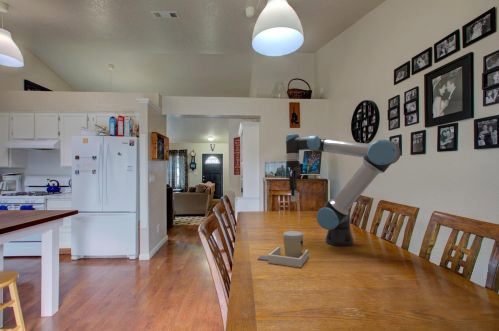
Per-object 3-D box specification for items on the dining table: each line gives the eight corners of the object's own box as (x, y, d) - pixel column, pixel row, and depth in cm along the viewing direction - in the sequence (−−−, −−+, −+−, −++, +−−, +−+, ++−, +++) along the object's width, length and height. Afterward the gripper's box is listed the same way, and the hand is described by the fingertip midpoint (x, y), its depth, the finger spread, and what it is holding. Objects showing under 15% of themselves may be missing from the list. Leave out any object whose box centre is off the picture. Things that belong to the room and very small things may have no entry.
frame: (308, 257, 131) (308, 249, 131) (300, 267, 117) (300, 259, 117) (278, 253, 137) (278, 246, 137) (267, 262, 123) (267, 255, 123)
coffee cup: (306, 261, 124) (305, 235, 124) (286, 263, 123) (285, 236, 123) (300, 254, 133) (299, 230, 133) (281, 256, 132) (280, 231, 132)
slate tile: (270, 258, 130) (270, 256, 130) (268, 262, 126) (268, 259, 126) (260, 257, 132) (260, 255, 132) (257, 261, 127) (257, 258, 127)
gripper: (288, 161, 167) (289, 200, 166) (283, 160, 154) (284, 202, 154) (301, 160, 164) (301, 200, 163) (297, 160, 152) (297, 202, 151)
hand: (293, 201), depth 159 cm, fingers closed
